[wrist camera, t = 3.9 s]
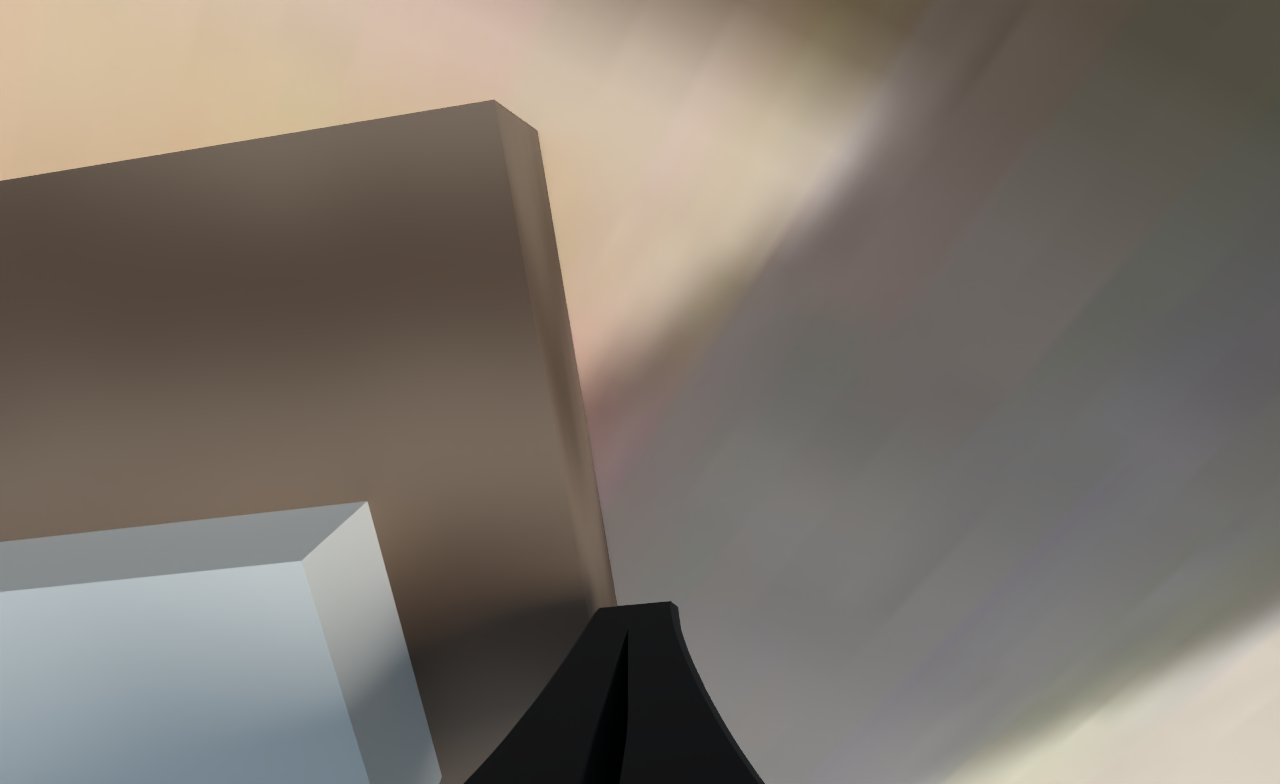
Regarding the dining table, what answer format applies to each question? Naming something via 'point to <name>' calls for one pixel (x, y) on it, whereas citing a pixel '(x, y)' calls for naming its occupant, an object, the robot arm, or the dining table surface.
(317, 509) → the pale grey flat block
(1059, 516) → the dining table surface
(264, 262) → the deck
